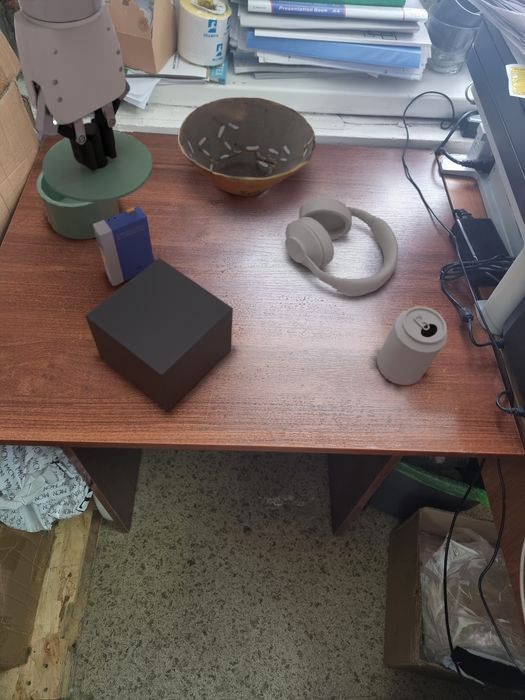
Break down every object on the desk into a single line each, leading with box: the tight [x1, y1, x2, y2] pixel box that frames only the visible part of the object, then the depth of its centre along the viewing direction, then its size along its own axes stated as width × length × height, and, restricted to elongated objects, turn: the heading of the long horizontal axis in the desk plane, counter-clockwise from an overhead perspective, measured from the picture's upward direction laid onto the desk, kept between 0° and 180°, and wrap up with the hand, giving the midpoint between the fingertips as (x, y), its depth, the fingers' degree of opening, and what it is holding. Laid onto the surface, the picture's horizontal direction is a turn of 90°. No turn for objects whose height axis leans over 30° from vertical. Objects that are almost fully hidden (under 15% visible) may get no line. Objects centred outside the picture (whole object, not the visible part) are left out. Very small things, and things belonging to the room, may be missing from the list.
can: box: [376, 305, 448, 386], centre depth 75 cm, size 8×8×12 cm
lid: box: [41, 121, 154, 202], centre depth 62 cm, size 13×13×5 cm
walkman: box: [93, 206, 155, 287], centre depth 81 cm, size 8×3×12 cm, turn 125°
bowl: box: [177, 96, 317, 197], centre depth 97 cm, size 25×25×10 cm
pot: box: [36, 170, 120, 240], centre depth 89 cm, size 12×12×8 cm
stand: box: [84, 257, 234, 413], centre depth 73 cm, size 14×14×11 cm
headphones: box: [284, 196, 399, 297], centre depth 89 cm, size 18×8×20 cm
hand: (96, 158), depth 63 cm, fingers closed on lid, 2 cm apart
